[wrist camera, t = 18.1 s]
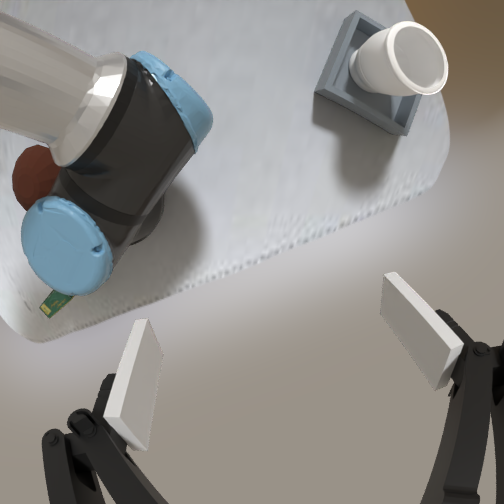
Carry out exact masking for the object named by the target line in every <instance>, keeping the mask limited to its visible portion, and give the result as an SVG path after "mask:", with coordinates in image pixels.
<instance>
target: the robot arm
mask: <svg viewBox="0 0 504 504" xmlns="http://www.w3.org/2000/svg"><path fill="white" fill-rule="evenodd" d="M212 123H213V115H212V112H211V110H210V108H209V107H208V106H207V104H206V103H205V102H204V100H203V99H202V98H201V97H200V96H199V95H198V93H197V92H196V91H195V90H194V89H193V88H192V87H191V86H190V85H189V84H188V83H187V82H186V81H184V80H183V79H182V78H181V77H180V76H179V75H177V74H175V73H174V71H172V70H171V69H170V68H169V67H168V66H167V65H166V64H165V63H163V62H162V61H161V60H159V59H158V58H156V57H155V56H153V55H152V54H150V53H148V52H145V51H140V52H138V53H136V54H135V55H132V57H131V58H130V59H129V58H128V57H126V56H125V55H123V54H122V53H119V52H113V53H109V54H106V55H103V56H99V57H93V56H91V55H89V54H88V53H86V52H84V51H82V50H80V49H78V48H77V47H75V46H73V45H71V44H69V43H67V42H65V41H63V40H61V39H60V38H58V37H56V36H54V35H52V34H50V33H48V32H46V31H44V30H41V29H39V28H37V27H35V26H33V25H31V24H29V23H27V22H24V21H22V20H20V19H18V18H16V17H13V16H11V15H9V14H6V13H4V12H2V11H0V128H1V129H4V130H8V131H11V132H14V133H17V134H20V135H23V136H26V137H29V138H31V139H34V140H37V141H40V142H43V143H46V144H47V145H48V146H49V149H50V152H51V155H52V157H53V160H54V162H55V164H57V165H58V166H60V167H62V168H61V169H60V171H59V173H58V175H57V177H56V179H55V182H54V184H53V186H52V188H51V190H50V192H49V194H48V195H47V196H46V197H42V198H41V199H38V200H37V201H36V202H35V204H33V206H32V207H31V208H30V209H29V210H28V211H27V213H26V215H25V216H24V219H23V222H22V227H21V242H22V247H23V251H24V254H25V255H26V256H27V258H28V261H29V265H30V266H31V268H32V269H33V271H34V272H35V274H36V275H37V276H38V277H39V278H40V279H41V280H42V281H43V282H44V283H45V284H46V285H48V286H49V287H51V288H52V289H54V290H56V291H58V292H60V293H62V294H65V295H70V296H74V295H79V296H84V295H88V294H90V293H92V292H94V291H96V290H97V289H98V288H99V287H100V286H101V285H102V284H103V283H104V282H106V281H107V280H108V279H109V277H110V275H111V273H112V270H113V268H114V266H115V265H116V264H117V262H118V261H119V259H120V258H121V256H122V255H123V253H124V252H125V251H126V249H127V248H128V246H130V245H134V244H136V243H139V242H140V241H142V240H144V239H145V238H146V237H147V236H149V235H150V234H151V232H152V231H153V230H154V228H155V227H156V225H157V224H158V222H159V220H160V218H161V215H162V212H163V207H164V194H163V193H164V192H165V191H166V189H167V188H168V187H169V185H170V184H171V183H172V181H173V180H174V179H175V177H176V176H177V175H178V173H179V172H180V171H181V169H182V168H183V167H184V166H185V164H186V163H187V162H188V161H189V159H190V158H191V157H192V156H193V154H195V153H196V151H197V150H198V146H199V145H200V144H201V142H202V141H203V139H204V138H205V137H206V135H207V134H208V132H209V131H210V130H211V127H212ZM383 276H384V277H383V288H382V300H381V310H380V314H381V315H382V317H383V318H384V320H385V321H386V322H387V324H388V325H389V326H390V328H391V329H392V330H393V332H394V333H395V335H396V336H397V337H398V339H399V340H400V342H401V343H402V344H403V346H404V347H405V349H406V350H407V351H408V353H409V354H410V355H411V357H412V358H413V360H414V361H415V363H416V364H417V366H418V367H419V368H420V370H421V371H422V373H423V374H424V376H425V377H426V379H427V380H428V382H429V383H430V385H431V386H432V388H433V389H434V391H436V390H438V389H440V388H443V387H445V386H447V384H448V382H449V380H450V378H452V379H453V381H454V384H453V386H452V388H451V390H450V392H449V394H448V396H450V395H451V398H450V403H449V409H448V413H447V418H446V423H445V427H444V431H443V435H442V439H441V443H440V447H439V450H438V454H437V457H436V460H435V464H434V467H433V470H432V473H431V476H430V479H429V482H428V484H427V487H426V490H425V493H424V495H423V498H422V500H421V503H420V504H479V503H480V496H479V495H478V494H477V488H478V484H479V480H480V476H481V471H482V466H483V461H484V456H485V450H486V445H487V438H488V430H489V422H490V412H491V418H492V425H493V432H494V444H495V455H496V456H495V457H496V484H497V485H496V504H504V341H503V343H502V346H496V347H489V346H488V345H487V344H485V343H483V342H474V341H473V340H472V339H471V338H470V337H469V336H468V334H467V333H466V332H465V331H464V330H463V329H462V328H461V327H460V326H458V324H457V323H456V322H455V321H454V320H453V319H452V318H451V317H450V315H449V314H447V313H446V312H444V311H442V310H440V309H439V310H436V311H434V310H433V309H432V308H431V307H430V306H429V305H428V304H427V303H426V302H425V301H424V300H423V299H422V298H421V297H420V296H419V295H418V294H417V293H416V292H415V291H414V290H413V289H412V288H411V287H410V286H409V285H408V284H407V283H406V282H405V281H404V280H403V279H402V278H401V277H400V276H399V275H398V274H397V273H396V272H391V273H387V274H384V275H383ZM163 356H164V354H163V352H162V350H161V348H160V345H159V343H158V341H157V338H156V336H155V334H154V332H153V329H152V327H151V324H150V322H149V319H148V318H145V319H137V320H135V322H134V325H133V328H132V331H131V333H130V336H129V339H128V341H127V344H126V347H125V350H124V353H123V356H122V359H121V362H120V364H119V367H118V370H117V373H116V374H108V375H107V377H106V378H105V379H104V380H103V382H102V385H101V387H100V391H99V393H98V398H97V399H96V402H95V405H94V408H93V411H92V413H91V412H90V411H89V410H88V409H78V410H76V411H74V412H73V413H72V414H71V415H70V416H69V418H68V421H67V425H68V428H69V429H70V430H71V431H72V432H73V433H69V434H65V435H64V434H63V433H62V432H61V431H60V430H58V429H51V430H49V431H47V432H46V433H45V434H44V436H43V438H42V452H43V461H44V469H45V478H46V484H47V490H48V496H49V501H50V504H105V501H104V498H103V495H102V492H101V488H100V485H99V482H98V478H97V475H96V472H97V474H98V476H99V477H100V479H101V481H102V482H103V484H104V486H105V487H106V489H107V490H108V492H109V494H110V495H111V497H112V498H113V500H114V501H115V503H116V504H168V502H167V501H166V500H165V499H164V498H163V497H162V496H161V495H160V493H159V492H158V491H157V490H156V489H155V488H154V486H153V485H152V484H151V483H150V481H149V480H148V479H147V478H146V477H145V475H144V474H143V473H142V472H141V470H140V469H139V468H138V466H137V465H136V464H135V462H134V461H133V459H132V458H131V457H130V455H129V454H128V453H127V452H126V447H127V445H128V446H129V447H130V448H131V449H132V450H138V451H139V450H140V451H148V445H149V438H150V431H151V424H152V418H153V411H154V406H155V399H156V394H157V388H158V382H159V377H160V372H161V366H162V361H163Z"/></svg>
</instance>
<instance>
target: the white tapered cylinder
mask: <svg viewBox="0 0 504 504" xmlns="http://www.w3.org/2000/svg"><path fill="white" fill-rule="evenodd" d="M349 70H350V74H351V76H352V78H353V80H354V81H355V83H356V84H357V85H358V86H359V87H360V88H362V89H363V90H365V91H367V92H370V93H382V94H388V95H393V96H411V95H415V94H425V95H430V94H434V93H437V92H438V91H440V90H441V89H442V88H443V86H444V85H445V83H446V80H447V76H448V63H447V58H446V55H445V52H444V49H443V47H442V45H441V44H440V42H439V41H438V39H437V38H436V37H435V36H434V34H432V32H431V31H429V30H428V29H427V28H425V27H424V26H422V25H420V24H418V23H415V22H411V21H403V22H399V23H397V24H395V25H393V26H392V27H391V28H388V29H384V30H382V31H379V32H377V33H376V34H374V35H372V36H371V37H370V38H369V39H368V40H367V41H366V42H365V43H364V44H363V45H362V46H361V47H360V48H359V49H358V50H356V51H355V52H354V53H353V54H352V56H351V58H350V61H349Z"/></svg>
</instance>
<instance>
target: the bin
mask: <svg viewBox="0 0 504 504" xmlns="http://www.w3.org/2000/svg"><path fill="white" fill-rule="evenodd" d="M384 29H387V28H385V27H384V26H382V25H381V24H379V23H377V22H376V21H374V20H372V19H371V18H369V17H367V16H366V15H364V14H362V13H360V12H359V11H357V10H356V11H354V12H353V13H352V14H350V15H349V16H348V17H346V18H345V19H344V22H343V24H342V26H341V29H340V31H339V34H338V36H337V38H336V41H335V43H334V45H333V48H332V50H331V53H330V55H329V57H328V60H327V62H326V64H325V67H324V69H323V72H322V74H321V76H320V79H319V81H318V84H317V86H316V88H315V91H314V92H316V93H318V94H320V95H322V96H324V97H326V98H328V99H330V100H332V101H334V102H336V103H338V104H340V105H342V106H343V107H345V108H347V109H349V110H351V111H353V112H355V113H356V114H358V115H360V116H362V117H364V118H365V119H367V120H369V121H371V122H372V123H374V124H376V125H377V126H379V127H381V128H382V129H384V130H386V131H387V132H389V133H390V134H393V135H401V136H407V135H408V132H409V129H410V127H411V124H412V121H413V119H414V116H415V113H416V110H417V108H418V105H419V102H420V99H421V96H422V94H415V95H411V96H393V95H388V94H382V93H370V92H367V91H365V90H363V89H362V88H360V87H359V86H358V85H357V84H356V83H355V81H354V80H353V78H352V76H351V74H350V70H349V61H350V58H351V56H352V54H353V53H354V52H355V51H356V50H358V49H359V48H360V47H361V46H362V45H363V44H364V43H365V42H366V41H367V40H368V39H369V38H370V37H371V36H372V35H374V34H376V33H377V32H379V31H382V30H384Z"/></svg>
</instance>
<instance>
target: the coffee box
mask: <svg viewBox="0 0 504 504" xmlns="http://www.w3.org/2000/svg"><path fill="white" fill-rule="evenodd" d="M74 296H75V295H74ZM74 296H70V295H65V294H62V293H60V292H58V291H56V290H53V291H52V292H51V293H50V295H49V296H48V297H47V298H46V300H45V301H44V302H43V303H42V305H41V306H40V307H39V308H40V309H41V310H42V311H43V312H44V313H45V315H46V316H47V317H48V318H51V317H52V316H53V315H54V314H55V313H57V312H58V311H59V310H60V309H61V308H62V307H64V306H65V305H66V304H67V303H68V302H69V301H71V300H72V299H73V297H74Z"/></svg>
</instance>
